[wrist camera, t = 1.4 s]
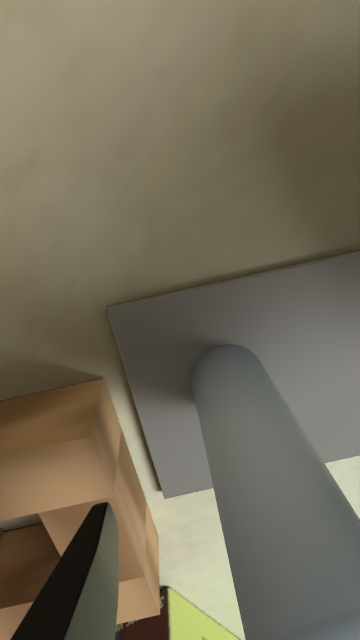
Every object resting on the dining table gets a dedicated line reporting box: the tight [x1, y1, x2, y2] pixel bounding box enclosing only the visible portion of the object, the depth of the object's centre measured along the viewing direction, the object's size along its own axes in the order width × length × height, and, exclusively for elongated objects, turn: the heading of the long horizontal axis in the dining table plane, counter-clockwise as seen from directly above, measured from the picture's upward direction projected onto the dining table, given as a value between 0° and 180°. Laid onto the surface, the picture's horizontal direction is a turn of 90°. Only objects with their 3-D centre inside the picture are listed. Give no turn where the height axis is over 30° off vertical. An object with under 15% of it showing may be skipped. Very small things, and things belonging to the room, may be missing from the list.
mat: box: [106, 250, 360, 499], centre depth 14 cm, size 10×10×1 cm
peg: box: [191, 345, 360, 640], centre depth 10 cm, size 3×3×9 cm
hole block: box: [0, 378, 160, 640], centre depth 14 cm, size 10×10×4 cm
